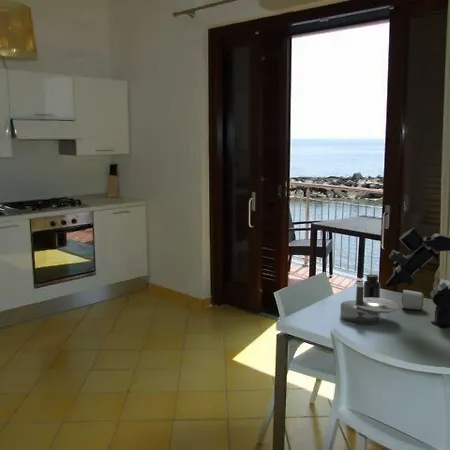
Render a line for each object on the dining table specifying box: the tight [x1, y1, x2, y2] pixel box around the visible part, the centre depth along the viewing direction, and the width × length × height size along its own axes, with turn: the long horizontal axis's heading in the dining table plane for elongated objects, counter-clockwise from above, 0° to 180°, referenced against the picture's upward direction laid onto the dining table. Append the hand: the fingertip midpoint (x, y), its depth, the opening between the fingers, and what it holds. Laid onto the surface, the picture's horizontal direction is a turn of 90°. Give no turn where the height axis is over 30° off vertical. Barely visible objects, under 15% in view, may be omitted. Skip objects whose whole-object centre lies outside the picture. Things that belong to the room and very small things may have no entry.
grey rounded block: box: [401, 289, 425, 311], centre depth 214 cm, size 11×8×8 cm
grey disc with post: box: [355, 281, 399, 314], centre depth 198 cm, size 16×16×8 cm
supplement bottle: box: [363, 273, 381, 298], centre depth 220 cm, size 7×7×12 cm
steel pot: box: [339, 299, 381, 326], centre depth 200 cm, size 15×25×5 cm, turn 167°
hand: (385, 286), depth 196 cm, fingers closed
